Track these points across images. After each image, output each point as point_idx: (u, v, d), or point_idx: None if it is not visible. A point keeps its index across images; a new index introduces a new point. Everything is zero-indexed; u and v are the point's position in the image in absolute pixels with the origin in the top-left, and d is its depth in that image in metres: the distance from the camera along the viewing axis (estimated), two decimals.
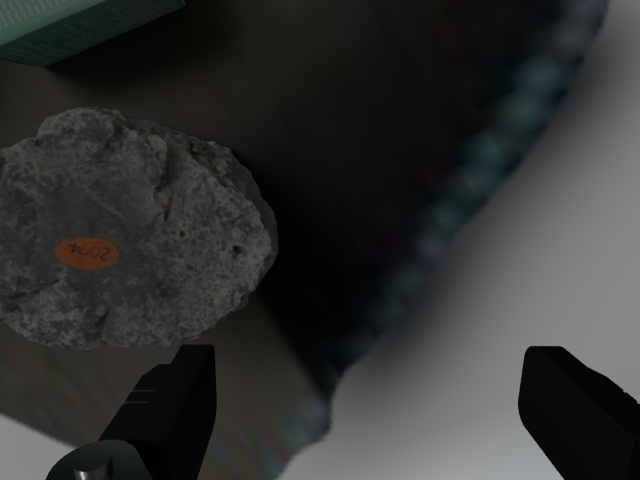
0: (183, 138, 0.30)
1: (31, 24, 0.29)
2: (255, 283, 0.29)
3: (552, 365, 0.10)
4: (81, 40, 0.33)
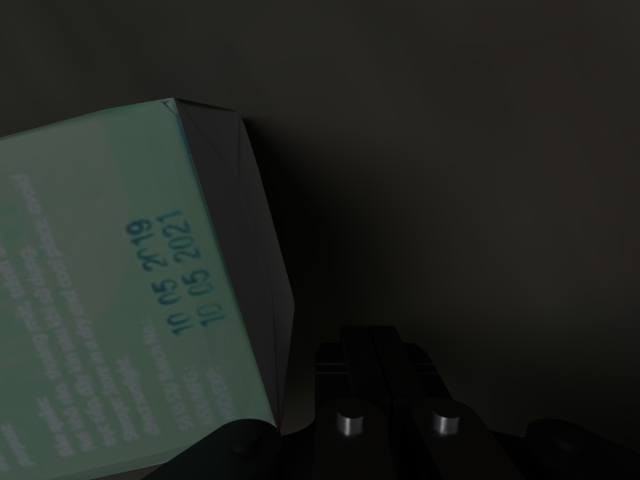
0: None
1: None
2: None
3: (373, 341, 0.11)
4: None
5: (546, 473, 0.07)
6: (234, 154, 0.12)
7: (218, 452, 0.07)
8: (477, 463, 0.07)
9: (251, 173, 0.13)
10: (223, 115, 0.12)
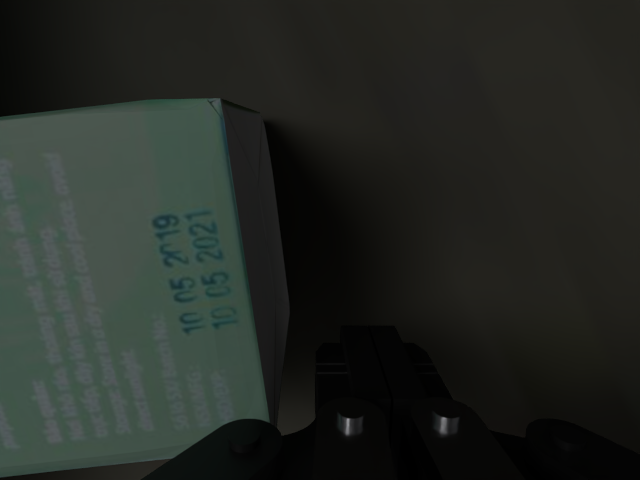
0: None
1: None
2: None
3: (373, 341, 0.11)
4: None
5: (546, 473, 0.07)
6: (256, 157, 0.12)
7: (218, 452, 0.07)
8: (477, 463, 0.07)
9: (267, 177, 0.13)
10: (251, 117, 0.11)
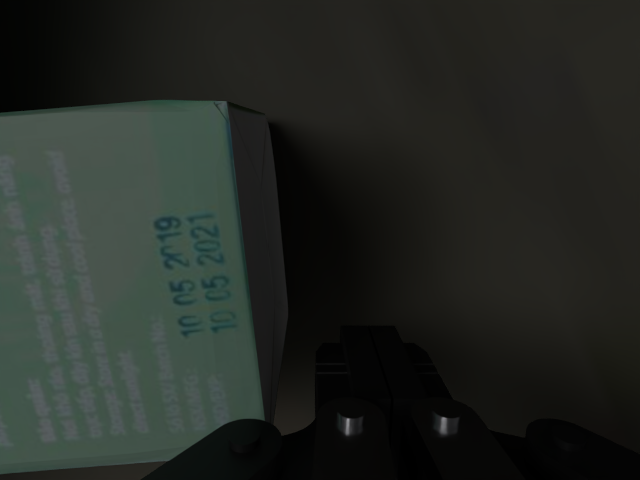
0: None
1: None
2: None
3: (373, 341, 0.11)
4: None
5: (546, 473, 0.07)
6: (260, 159, 0.12)
7: (218, 452, 0.07)
8: (477, 463, 0.07)
9: (270, 178, 0.13)
10: (256, 119, 0.11)
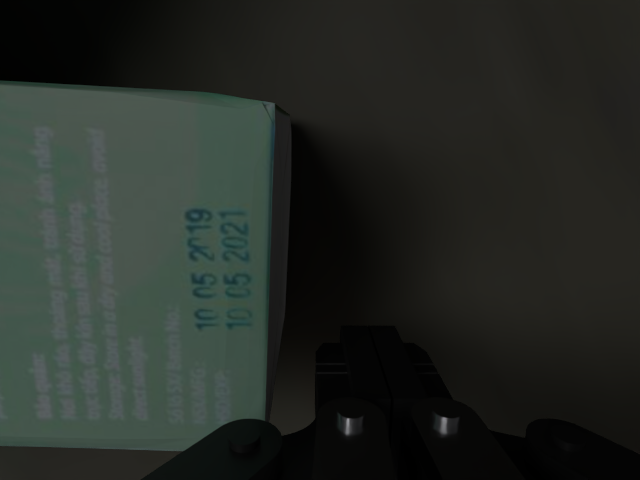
0: None
1: None
2: None
3: (373, 341, 0.11)
4: None
5: (546, 473, 0.07)
6: (284, 160, 0.12)
7: (218, 452, 0.07)
8: (477, 463, 0.07)
9: (287, 180, 0.13)
10: (285, 120, 0.11)
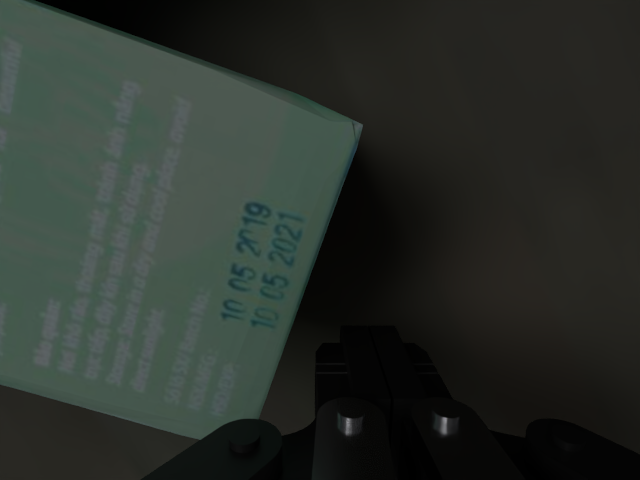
0: None
1: None
2: None
3: (373, 341, 0.11)
4: None
5: (546, 473, 0.07)
6: None
7: (218, 452, 0.07)
8: (477, 463, 0.07)
9: None
10: None
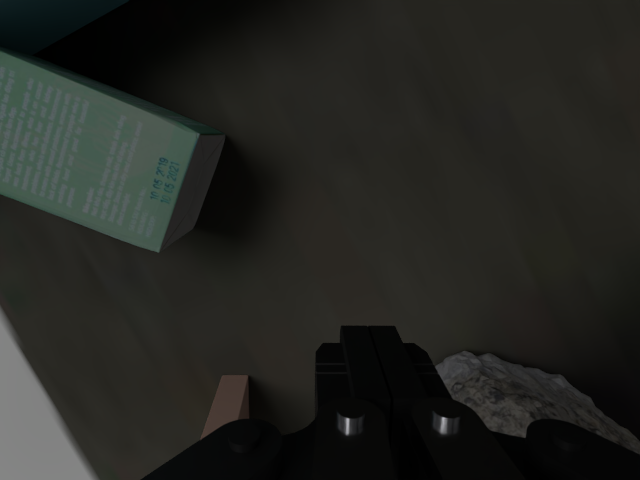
0: (600, 424, 0.27)
1: None
2: None
3: (373, 341, 0.11)
4: None
5: (546, 473, 0.07)
6: (209, 153, 0.27)
7: (218, 452, 0.07)
8: (477, 463, 0.07)
9: (212, 162, 0.29)
10: (215, 137, 0.27)
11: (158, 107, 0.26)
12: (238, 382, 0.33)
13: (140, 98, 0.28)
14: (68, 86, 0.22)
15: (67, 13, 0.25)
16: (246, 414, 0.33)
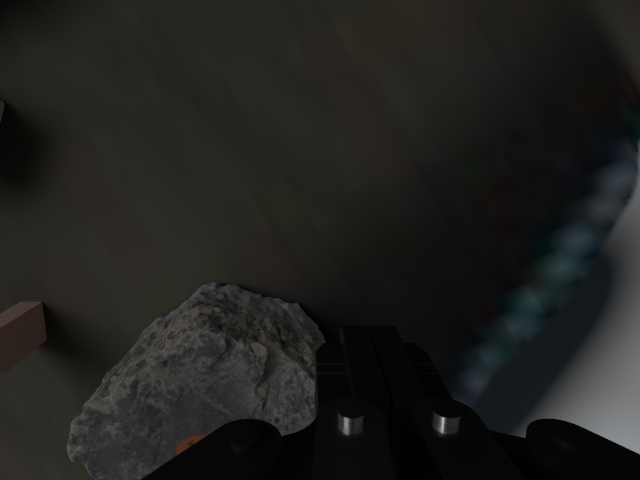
0: (273, 327, 0.35)
1: None
2: None
3: (373, 341, 0.11)
4: None
5: (546, 473, 0.07)
6: None
7: (218, 452, 0.07)
8: (477, 463, 0.07)
9: None
10: None
11: None
12: (28, 305, 0.41)
13: None
14: None
15: None
16: (36, 332, 0.41)
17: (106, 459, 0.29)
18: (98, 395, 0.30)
